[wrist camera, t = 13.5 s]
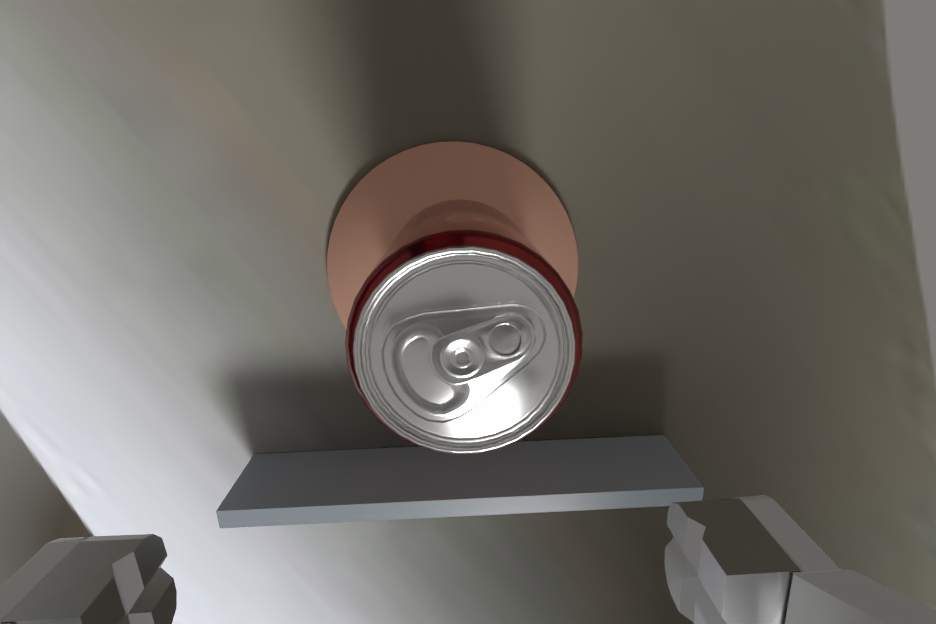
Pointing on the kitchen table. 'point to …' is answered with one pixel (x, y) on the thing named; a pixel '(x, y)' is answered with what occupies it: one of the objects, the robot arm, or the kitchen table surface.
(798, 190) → the kitchen table surface
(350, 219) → the terracotta mat
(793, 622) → the robot arm
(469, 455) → the acrylic wall
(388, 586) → the kitchen table surface
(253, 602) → the kitchen table surface
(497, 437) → the soda can
